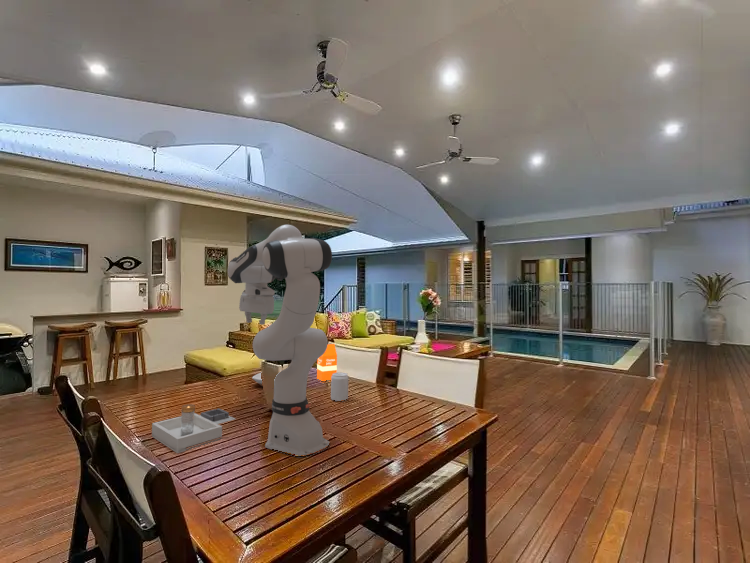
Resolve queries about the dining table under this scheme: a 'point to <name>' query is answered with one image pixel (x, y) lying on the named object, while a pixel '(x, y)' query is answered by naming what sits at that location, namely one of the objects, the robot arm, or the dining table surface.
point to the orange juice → (327, 363)
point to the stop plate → (217, 416)
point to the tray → (171, 437)
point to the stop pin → (187, 419)
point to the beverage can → (339, 386)
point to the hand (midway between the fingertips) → (255, 323)
